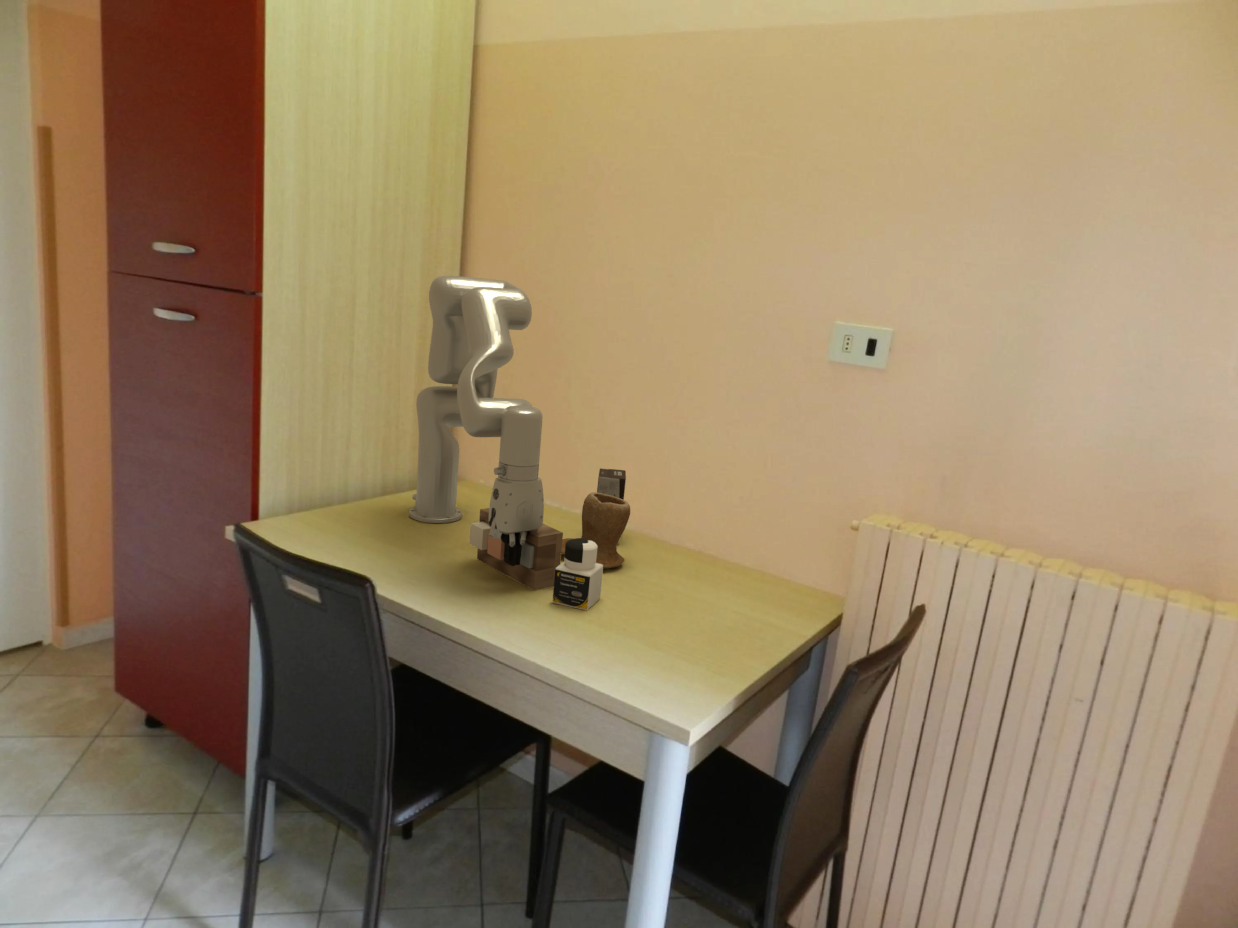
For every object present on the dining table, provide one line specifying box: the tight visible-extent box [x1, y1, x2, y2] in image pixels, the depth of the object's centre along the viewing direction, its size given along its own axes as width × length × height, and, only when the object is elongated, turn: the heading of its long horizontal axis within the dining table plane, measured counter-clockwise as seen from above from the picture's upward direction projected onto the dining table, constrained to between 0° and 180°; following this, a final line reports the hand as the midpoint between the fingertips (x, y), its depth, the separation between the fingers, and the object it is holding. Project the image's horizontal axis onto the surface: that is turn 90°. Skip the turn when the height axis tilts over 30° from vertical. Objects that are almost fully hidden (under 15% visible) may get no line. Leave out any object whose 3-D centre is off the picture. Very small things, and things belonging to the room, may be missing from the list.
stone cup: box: [561, 491, 631, 569], centre depth 184 cm, size 15×12×15 cm
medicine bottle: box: [552, 537, 604, 611], centre depth 161 cm, size 7×7×12 cm
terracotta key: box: [487, 534, 505, 560], centre depth 170 cm, size 4×4×4 cm
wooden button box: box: [476, 507, 564, 591], centre depth 173 cm, size 20×6×11 cm, turn 43°
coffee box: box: [596, 468, 627, 546], centre depth 200 cm, size 9×6×16 cm
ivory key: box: [468, 521, 491, 550], centre depth 175 cm, size 4×4×4 cm
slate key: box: [520, 541, 535, 568], centre depth 167 cm, size 4×4×4 cm
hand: (511, 563), depth 165 cm, fingers closed
